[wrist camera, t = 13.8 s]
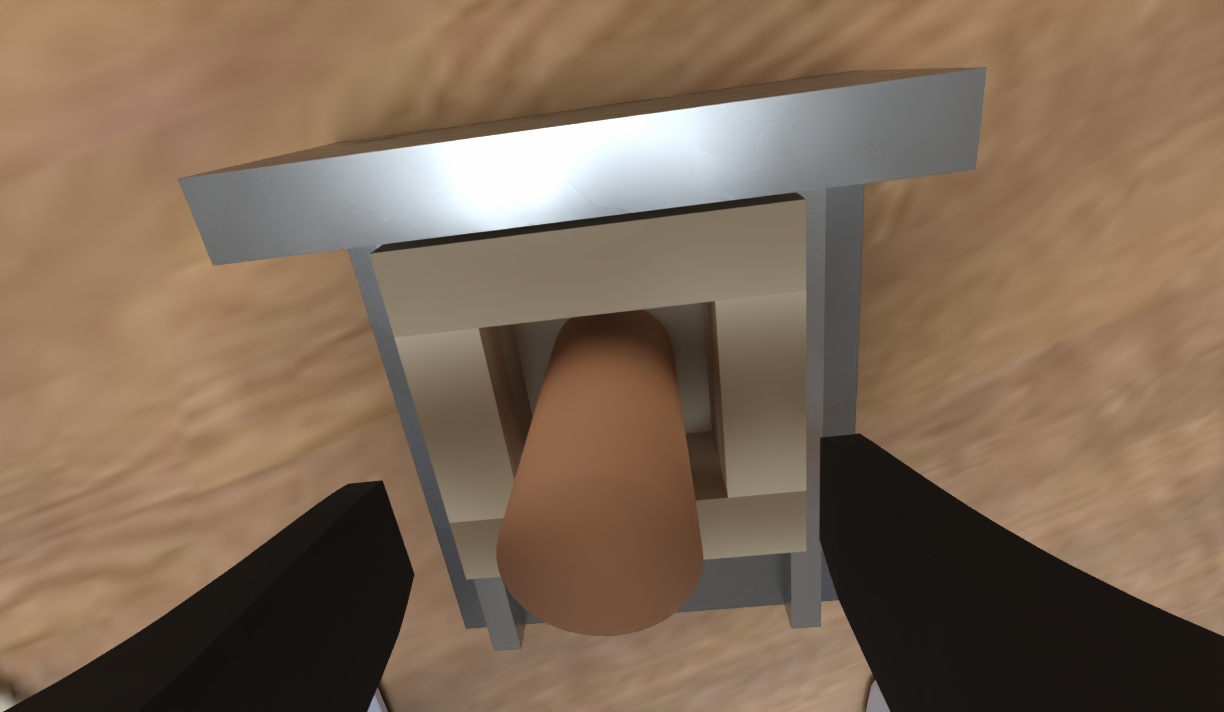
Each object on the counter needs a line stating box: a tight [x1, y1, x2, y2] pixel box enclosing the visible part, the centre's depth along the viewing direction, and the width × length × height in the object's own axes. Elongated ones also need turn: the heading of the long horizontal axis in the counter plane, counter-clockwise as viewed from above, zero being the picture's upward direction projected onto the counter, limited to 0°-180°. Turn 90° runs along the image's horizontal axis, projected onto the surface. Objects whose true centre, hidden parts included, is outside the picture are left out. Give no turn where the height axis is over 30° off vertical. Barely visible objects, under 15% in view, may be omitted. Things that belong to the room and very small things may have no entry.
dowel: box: [496, 309, 703, 636], centre depth 12 cm, size 3×3×7 cm
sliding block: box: [369, 192, 806, 579], centre depth 15 cm, size 8×8×4 cm
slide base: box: [178, 67, 987, 651], centre depth 16 cm, size 16×13×6 cm
